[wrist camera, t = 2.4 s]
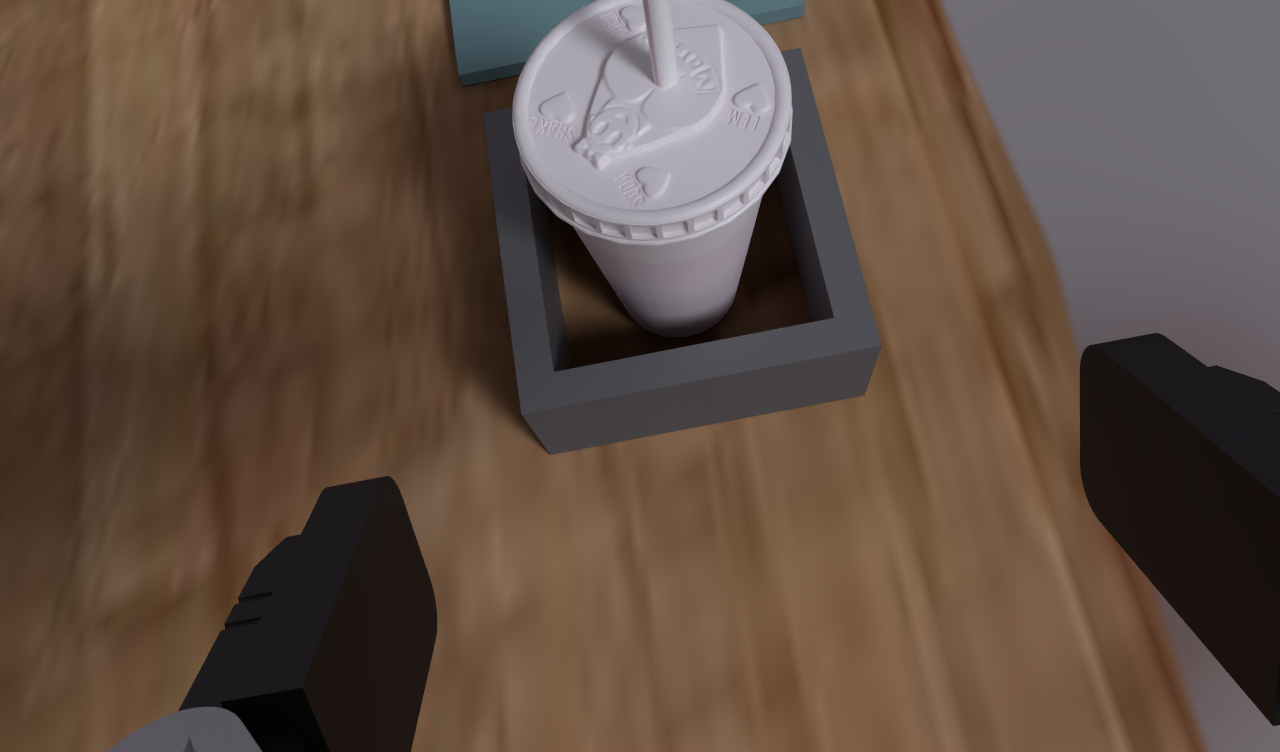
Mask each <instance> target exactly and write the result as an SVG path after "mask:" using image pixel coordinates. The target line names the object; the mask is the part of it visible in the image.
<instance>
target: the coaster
mask: <svg viewBox="0 0 1280 752" xmlns="http://www.w3.org/2000/svg"><path fill="white" fill-rule="evenodd" d="M594 1H596V0H449V3H450V11H451V19H452V27H453V36H454V44H455V52H456V60H457V69H458V76H459V78H460V80H461V83H462V85H463V86H466V85H471V84H476V83H481V82H486V81H491V80H496V79H500V78H505V77H510V76H515V75H520V74H521V72H522V70H523V67H524V65H525V64H526V62H527V60H528V58H529V56H530V55H531V53H532V52H533V50H534V49H535V48H536V46H537V45H538V44H539V43H540V41H541V40H542V39H543V38H544V37H545V36H546V35H547V34H548V33H549V32H550V31H551V30H552V29H553V28H554V27H555V26H556V25H557V24H559V23H560V22H561V21H562V20H564V19H565V18H566V17H568V16H569V15H571V14H572V13H574V12H575V11H577V10H579V9H580V8H582V7H584V6H586V5H588V4H590V3H592V2H594ZM725 1H727V2H729V3H731V4H733V5H734V6H736V7H738V8H739V9H741V10H743V11H744V12H745V13H747V14H748V15H749V16H751V17H752V18H753V19H754V20H755V21H757V22H758V23H759V24H760V25H763V24H768V23H773V22H778V21H783V20H788V19H793V18H797V17H802V16H804V1H803V0H725Z"/></svg>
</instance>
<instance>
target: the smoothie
mask: <svg viewBox="0 0 1280 752" xmlns="http://www.w3.org/2000/svg"><path fill="white" fill-rule="evenodd" d="M791 103H792V94H791V83H790V77H789V73H788V70H787V66H786V64H785V61H784V59H783V56H782V54H781V52H780V50H779V49H778V47H777V45H776V43H775V42H774V41H773V39H772V38H771V36H770V35H769V34H768V33H767V32H766V30H765V29H764V28H763V27H762V26H761V25H760V24H759V23H758V22H757V21H755V20H754V19H753V18H752V17H751V16H749V15H748V14H747V13H745V12H744V11H743V10H741V9H739V8H738V7H736V6H734V5H733V4H731V3H729V2H727V1H725V0H596V1H594V2H592V3H590V4H588V5H586V6H584V7H582V8H580V9H579V10H577V11H575V12H574V13H572V14H571V15H569V16H568V17H566V18H565V19H564V20H562V21H561V22H560V23H559V24H557V25H556V26H555V27H554V28H553V29H552V30H551V31H550V32H549V33H548V34H547V35H546V36H545V37H544V38H543V39H542V40H541V41H540V43H539V44H538V45H537V46H536V48H535V49H534V50H533V52H532V53H531V55H530V56H529V58H528V60H527V62H526V64H525V65H524V67H523V70H522V72H521V74H520V77H519V79H518V83H517V86H516V89H515V94H514V100H513V112H512V115H513V128H514V134H515V138H516V142H517V146H518V149H519V153H520V160H521V165H522V167H523V169H524V171H525V173H526V175H527V178H528V180H529V182H530V184H531V186H532V188H533V190H534V192H535V193H536V194H537V196H538V197H539V198H540V199H541V200H542V201H543V202H544V203H545V204H546V205H547V206H548V207H549V209H550V210H551V211H552V212H553V213H554V214H555V215H556V216H557V217H558V218H560V219H562V220H563V221H565V222H567V223H568V224H570V225H572V226H573V227H574V229H575V230H576V232H577V234H578V235H579V237H580V238H581V240H582V241H583V243H584V244H585V246H586V248H587V249H588V251H589V252H590V254H591V255H592V257H593V259H594V260H595V262H596V263H597V265H598V266H599V268H600V269H601V271H602V273H603V274H604V276H605V277H606V279H607V280H608V282H609V284H610V285H611V287H612V288H613V290H614V291H615V293H616V294H617V296H618V298H619V299H620V301H621V302H622V304H623V305H624V307H625V308H626V310H627V312H628V313H629V314H630V316H631V317H632V318H633V319H634V320H635V321H636V322H637V323H638V324H639V325H640V326H642V327H643V328H645V329H646V330H648V331H650V332H652V333H655V334H658V335H662V336H667V337H687V336H692V335H695V334H699V333H701V332H703V331H705V330H707V329H709V328H711V327H712V326H714V325H715V324H716V323H718V322H719V321H720V320H721V319H722V318H723V317H724V316H725V314H726V313H727V312H728V310H729V309H730V307H731V305H732V303H733V301H734V298H735V295H736V291H737V288H738V284H739V280H740V277H741V273H742V269H743V265H744V262H745V258H746V254H747V251H748V247H749V243H750V240H751V236H752V232H753V229H754V225H755V221H756V217H757V214H758V210H759V206H760V203H761V199H762V196H763V194H764V193H765V191H766V190H767V189H768V187H769V186H770V185H771V183H772V182H773V180H774V179H775V178H776V176H777V175H778V174H779V172H780V170H781V167H782V164H783V162H784V159H785V156H786V153H787V151H788V148H789V145H790V143H791V133H792V114H793V108H792V105H791Z"/></svg>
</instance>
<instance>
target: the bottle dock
mask: <svg viewBox="0 0 1280 752" xmlns="http://www.w3.org/2000/svg"><path fill="white" fill-rule="evenodd" d="M781 54H782V56H783V59H784V61H785V64H786V66H787V70H788V73H789V77H790V83H791V94H792V103H791V105H792V108H793V114H792V133H791V143H790V145H789V148H788V151H787V153H786V156H785V159H784V162H783V164H782V167H781V170H780V172H779V174H778V175H777V176H776V181H777V185H778V189H779V193H780V197H781V201H782V205H783V209H784V213H785V217H786V221H787V226H788V230H789V234H790V238H791V242H792V246H793V250H794V254H795V258H796V262H797V266H798V270H799V274H800V278H801V282H802V286H803V290H804V294H805V298H806V302H807V306H808V310H809V314H810V318H811V322H810V323H805V324H800V325H795V326H789V327H784V328H779V329H774V330H769V331H763V332H758V333H753V334H748V335H743V336H738V337H732V338H727V339H722V340H717V341H712V342H706V343H701V344H696V345H691V346H686V347H681V348H675V349H670V350H665V351H660V352H655V353H649V354H644V355H639V356H634V357H629V358H624V359H618V360H613V361H608V362H603V363H598V364H592V365H587V366H582V367H577V368H572V369H571V367H570V361H569V354H568V347H567V341H566V334H565V327H564V321H563V314H562V308H561V301H560V294H559V288H558V281H557V274H556V268H555V261H554V255H553V248H552V241H551V235H550V228H549V221H548V215H547V208H546V204H545V203H544V202H543V201H542V200H541V199H540V198H539V197H538V196H537V194H536V193H535V192H534V190H533V188H532V186H531V184H530V182H529V180H528V178H527V175H526V173H525V171H524V169H523V167H522V165H521V160H520V153H519V149H518V146H517V142H516V138H515V134H514V128H513V115H512V112H513V107H509V108H504V109H499V110H494V111H489V112H484V113H482V115H483V122H484V130H485V138H486V146H487V153H488V161H489V169H490V176H491V184H492V192H493V200H494V207H495V215H496V223H497V231H498V238H499V246H500V254H501V261H502V269H503V277H504V285H505V292H506V300H507V308H508V315H509V323H510V331H511V339H512V346H513V354H514V362H515V370H516V377H517V385H518V393H519V400H520V408H521V415H522V416H523V418H524V419H525V420H526V422H527V423H528V425H529V426H530V427H531V429H532V430H533V432H534V433H535V434H536V436H537V437H538V439H539V440H540V441H541V443H542V444H543V446H544V447H545V448H546V450H547V451H548V453H549V454H550V455H551V454H557V453H562V452H567V451H572V450H578V449H583V448H588V447H593V446H599V445H604V444H609V443H615V442H620V441H625V440H630V439H636V438H641V437H646V436H651V435H657V434H662V433H667V432H673V431H678V430H683V429H688V428H694V427H699V426H704V425H709V424H715V423H720V422H725V421H731V420H736V419H741V418H746V417H752V416H757V415H762V414H767V413H773V412H778V411H783V410H789V409H794V408H799V407H804V406H810V405H815V404H820V403H825V402H831V401H836V400H841V399H847V398H852V397H857V396H862V395H865V392H866V390H867V387H868V384H869V381H870V378H871V375H872V372H873V369H874V366H875V363H876V360H877V358H878V355H879V352H880V349H881V346H882V345H881V341H880V337H879V334H878V330H877V326H876V323H875V319H874V315H873V312H872V308H871V304H870V301H869V297H868V293H867V290H866V286H865V283H864V279H863V275H862V272H861V268H860V264H859V261H858V257H857V253H856V250H855V246H854V242H853V239H852V235H851V231H850V228H849V224H848V220H847V217H846V213H845V209H844V206H843V202H842V198H841V195H840V191H839V187H838V184H837V180H836V176H835V173H834V169H833V165H832V162H831V158H830V154H829V151H828V147H827V143H826V140H825V136H824V132H823V129H822V125H821V121H820V118H819V114H818V110H817V107H816V103H815V99H814V96H813V92H812V88H811V85H810V81H809V77H808V74H807V70H806V66H805V63H804V59H803V55H802V52H801V48H798V49H793V50H788V51H783V52H781Z"/></svg>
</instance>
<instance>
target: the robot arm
mask: <svg viewBox="0 0 1280 752" xmlns="http://www.w3.org/2000/svg"><path fill="white" fill-rule="evenodd" d="M1080 469H1081V477H1082V482H1083V486H1084V490H1085V493H1086V496H1087V499H1088V502H1089V504H1090V506H1091V508H1092V510H1093V512H1094V514H1095V515H1096V517H1097V518H1098V520H1099V521H1100V522H1101V523H1102V525H1103V526H1104V527H1105V528H1106V529H1107V531H1108V532H1109V533H1110V534H1111V535H1112V536H1113V538H1114V539H1115V540H1116V541H1117V542H1118V544H1119V545H1120V546H1121V547H1122V548H1123V549H1124V551H1125V552H1126V553H1127V554H1128V555H1129V557H1130V558H1131V559H1132V560H1133V561H1134V562H1135V564H1136V565H1137V566H1138V567H1139V568H1140V569H1141V571H1142V572H1143V573H1144V574H1145V575H1146V577H1147V578H1148V579H1149V580H1150V581H1151V582H1152V584H1153V585H1154V586H1155V587H1156V588H1157V590H1158V591H1159V592H1160V593H1161V594H1162V595H1163V597H1164V598H1165V599H1166V600H1167V601H1168V602H1169V604H1170V605H1171V606H1172V607H1173V608H1174V610H1175V611H1176V612H1177V613H1178V614H1179V616H1180V617H1181V618H1182V619H1183V620H1184V621H1185V623H1186V624H1187V625H1188V626H1189V627H1190V628H1191V630H1192V631H1193V632H1194V633H1195V634H1196V636H1197V637H1198V638H1199V639H1200V640H1201V641H1202V643H1203V644H1204V645H1205V646H1206V647H1207V649H1208V650H1209V651H1210V652H1211V653H1212V654H1213V656H1214V657H1215V658H1216V659H1217V660H1218V662H1219V663H1220V664H1221V665H1222V666H1223V667H1224V669H1225V670H1226V671H1227V672H1228V673H1229V675H1230V676H1231V677H1232V678H1233V679H1234V680H1235V682H1236V683H1237V684H1238V685H1239V686H1240V688H1241V689H1242V690H1243V691H1244V692H1245V693H1246V695H1247V696H1248V697H1249V698H1250V699H1251V700H1252V702H1253V703H1254V704H1255V705H1256V706H1257V708H1258V709H1259V710H1260V711H1261V712H1262V713H1263V715H1264V716H1265V717H1266V718H1267V719H1268V721H1269V722H1270V723H1271V724H1272V725H1273V726H1276V725H1280V392H1279V391H1277V390H1276V389H1274V388H1273V387H1271V386H1270V385H1268V384H1267V383H1265V382H1264V381H1261V380H1258V379H1255V378H1252V377H1249V376H1246V375H1243V374H1240V373H1237V372H1234V371H1231V370H1228V369H1225V368H1222V367H1219V366H1217V365H1216V366H1211V367H1207V366H1205V365H1204V364H1203V363H1201V362H1200V361H1199V360H1197V359H1196V358H1194V357H1193V356H1192V355H1190V354H1189V353H1187V352H1186V351H1185V350H1183V349H1182V348H1180V347H1179V346H1178V345H1176V344H1175V343H1173V342H1172V341H1171V340H1169V339H1168V338H1167V337H1165V336H1163V335H1162V334H1159V333H1153V334H1147V335H1142V336H1137V337H1131V338H1126V339H1121V340H1115V341H1110V342H1105V343H1100V344H1094V345H1090V346H1088V347H1087V348H1086V349H1085V350H1084V352H1083V354H1082V357H1081V363H1080ZM238 599H239V604H235V605H234V607H233V609H232V611H231V613H230V614H229V616H228V618H227V620H226V622H225V630H221V631H220V633H219V635H218V637H217V639H216V641H215V643H214V645H213V646H212V648H211V650H210V652H209V654H208V656H207V658H206V660H205V662H204V663H203V665H202V667H201V669H200V671H199V673H198V675H197V677H196V679H195V680H194V682H193V684H192V686H191V688H190V690H189V692H188V694H187V696H186V697H185V699H184V701H183V703H182V705H181V707H180V709H179V711H178V712H175V713H172V714H169V715H166V716H164V717H162V718H159V719H157V720H154V721H152V722H151V723H149V724H147V725H145V726H143V727H141V728H139V729H138V730H136V731H135V732H133V733H131V734H130V735H128V736H127V737H125V738H124V739H123V740H121V741H120V742H119V743H117V744H116V745H115V746H113V747H112V748H111V749H110V750H109V751H108V752H411V748H412V744H413V739H414V735H415V730H416V726H417V721H418V717H419V712H420V708H421V703H422V699H423V694H424V690H425V685H426V681H427V676H428V672H429V667H430V663H431V659H432V654H433V650H434V645H435V641H436V635H437V609H436V601H435V596H434V591H433V587H432V583H431V580H430V577H429V574H428V571H427V568H426V566H425V563H424V560H423V557H422V554H421V551H420V548H419V545H418V542H417V539H416V536H415V533H414V530H413V527H412V524H411V521H410V519H409V516H408V513H407V510H406V507H405V504H404V501H403V498H402V495H401V493H400V490H399V488H398V486H397V484H396V483H395V481H394V480H393V479H392V478H391V477H389V476H385V477H379V478H374V479H369V480H364V481H358V482H353V483H348V484H342V485H337V486H332V487H327V488H325V489H324V490H323V491H322V492H321V494H320V496H319V498H318V500H317V502H316V504H315V507H314V509H313V511H312V513H311V515H310V517H309V519H308V521H307V523H306V525H305V527H304V529H303V531H302V534H301V535H295V536H290V537H286V538H285V539H284V540H283V541H282V542H281V543H279V544H278V545H277V546H276V547H275V548H274V549H273V550H272V551H271V552H270V553H269V554H268V555H267V556H266V557H265V558H264V559H263V560H262V561H260V562H259V563H258V564H257V565H256V566H255V567H254V569H253V571H252V573H251V575H250V577H249V579H248V580H247V582H246V584H245V586H244V588H243V590H242V592H241V594H240V596H239V597H238Z"/></svg>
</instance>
